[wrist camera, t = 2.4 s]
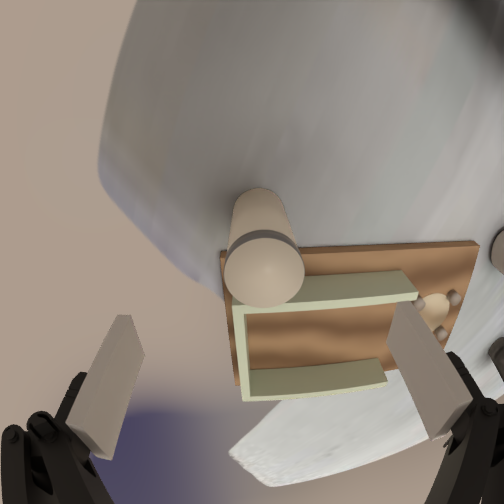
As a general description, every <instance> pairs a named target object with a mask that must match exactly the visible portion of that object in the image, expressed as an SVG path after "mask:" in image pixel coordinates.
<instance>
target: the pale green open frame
mask: <svg viewBox="0 0 504 504" xmlns="http://www.w3.org/2000/svg"><path fill="white" fill-rule="evenodd" d="M418 293H419V292H418V290H417V289H416V288H415V286H414V285H413V284H412V283H411V281H410V280H409V279H408V278H407V276H406V275H405V274H404V273H403V271H402V270H395V271H381V272H367V273H352V274H336V275H319V276H305V277H304V281H303V284H302V286H301V288H300V289H299V291H298V292H297V293H296V295H294V296H293V297H292V298H291V299H290V300H289V301H287V302H285V303H283V304H281V305H278V306H275V307H271V308H256V307H251V306H248V305H245V304H243V303H241V302H240V301H238V300H237V299H236V298H235V297H234V296H233V297H232V312H233V322H234V331H235V341H236V350H237V359H238V367H239V376H240V385H241V393H242V400H243V401H267V400H284V399H298V398H308V397H318V396H327V395H335V394H342V393H349V392H356V391H362V390H368V389H374V388H379V387H384V386H386V385H387V383H388V380H387V378H386V376H385V373H384V371H383V368H382V366H381V364H380V361H379V359H378V358H373V359H367V360H360V361H352V362H344V363H336V364H327V365H317V366H306V367H294V368H279V369H259V370H250V361H249V348H248V334H247V320H246V314H253V313H275V312H293V311H309V310H322V309H335V308H347V307H358V306H368V305H378V304H387V303H396V302H401V301H409V300H410V301H412V300H417V296H418Z"/></svg>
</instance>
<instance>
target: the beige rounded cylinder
mask: <svg viewBox="0 0 504 504" xmlns="http://www.w3.org/2000/svg"><path fill="white" fill-rule="evenodd" d="M223 275H224V282H225V285H226V287H227V289H228V290H229V292H230V293H231V294H232V295H233V296H234V297H235V298H236V299H237V300H238V301H240V302H241V303H243V304H245V305H248V306H251V307H256V308H271V307H275V306H278V305H281V304H283V303H285V302H287V301H289V300H290V299H291V298H292V297H293V296H294V295H296V293H297V292H298V291H299V289H300V288H301V286H302V284H303V281H304V277H305V266H304V262H303V259H302V256H301V253H300V251H299V249H298V247H297V244H296V241H295V238H294V235H293V232H292V229H291V227H290V224H289V221H288V218H287V215H286V212H285V210H284V207H283V204H282V202H281V200H280V198H279V197H278V196H277V195H276V194H275V193H273V192H272V191H270V190H267V189H263V188H254V189H250V190H248V191H246V192H244V193H243V194H241V195H240V196H239V198H238V199H237V200H236V202H235V204H234V208H233V214H232V221H231V228H230V235H229V241H228V248H227V254H226V258H225V264H224V271H223Z"/></svg>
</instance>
